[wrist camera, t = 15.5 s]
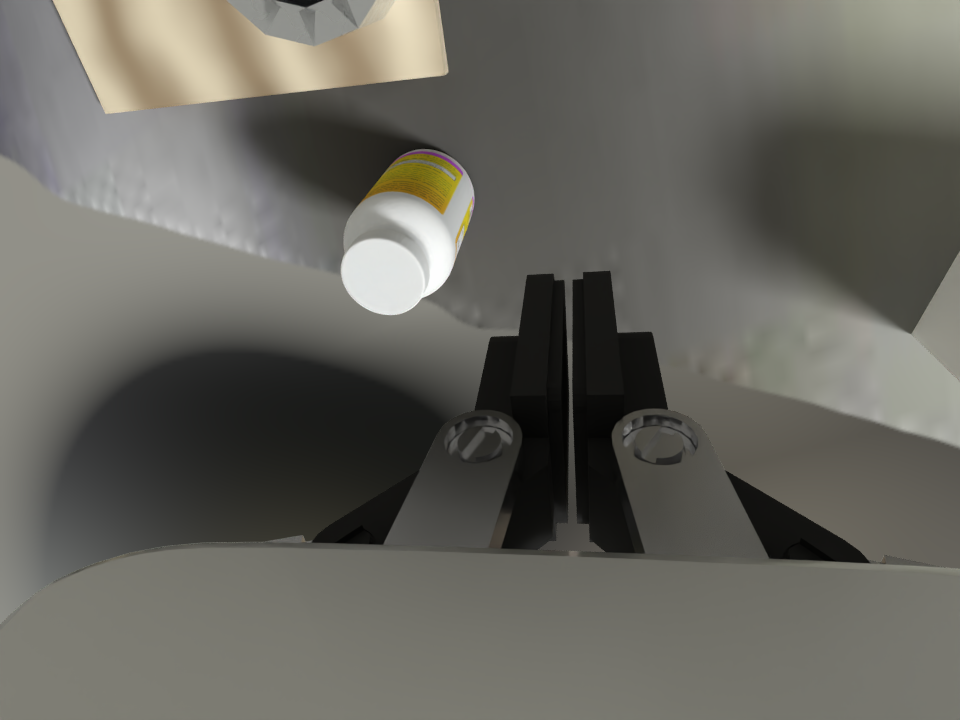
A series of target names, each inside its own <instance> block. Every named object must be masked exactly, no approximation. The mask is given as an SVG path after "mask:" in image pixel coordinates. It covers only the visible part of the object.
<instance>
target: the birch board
mask: <svg viewBox="0 0 960 720" xmlns="http://www.w3.org/2000/svg"><path fill="white" fill-rule="evenodd" d="M53 2H54V4H55V6H56V8H57V10H58V12H59V15H60V17H61V19H62V21H63V23H64V25H65V27H66V30H67V32H68V34H69V36H70V38H71V40H72V42H73V45H74V47H75V49H76V51H77V53H78V55H79V58H80V60H81V62H82V64H83V66H84V68H85V70H86V73H87V75H88V77H89V79H90V81H91V83H92V85H93V88H94V90H95V92H96V94H97V96H98V98H99V100H100V103H101V105H102V107H103V109H104V111H105V113H106V114H109V113H118V112H127V111H136V110H144V109H153V108H162V107H171V106H179V105H188V104H197V103H206V102H214V101H223V100H232V99H241V98H249V97H258V96H267V95H276V94H284V93H293V92H302V91H310V90H319V89H328V88H337V87H345V86H354V85H363V84H372V83H380V82H389V81H398V80H407V79H415V78H424V77H433V76H442V75H446V74H447V73H448V65H447V58H446V51H445V43H444V36H443V29H442V22H441V15H440V7H439V0H396V1H395V2H394V4H393V5H392V7H391V8H390V10H389V11H388V13H387V14H386V16H385V17H384V19H382V20H379V21H377V22H374V23H372V24H369V25H367V26H364V27H362V28H360V29H357V30H355V31H352V32H350V33H347V34H345V35H343V36H340V37H338V38H335V39H332V40H330V41H327V42H325V43H322V44H319V45H317V46H311V45H306V44H302V43H298V42H294V41H290V40H286V39H281V38H277V37H273V36H269V35H265V34H264V33H263V32H262V31H261V30H259V29H258V28H257V27H256V26H255V25H254V24H253V23H252V22H250V21H249V20H248V19H247V18H246V17H245V16H244V15H242V14H241V13H240V12H239V11H238V10H237V9H236V8H235V7H233V6H232V5H231V4H230V3H229V2H228V1H227V0H53Z"/></svg>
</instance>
